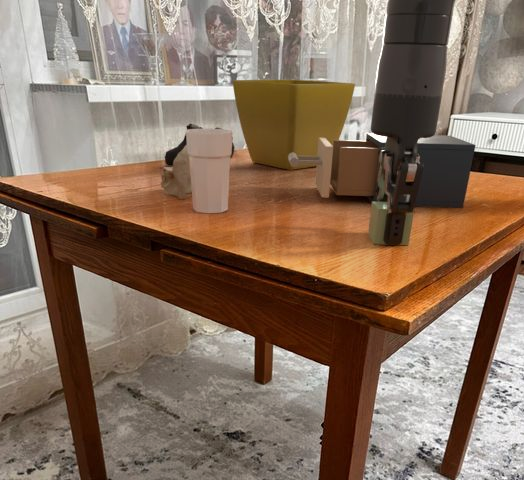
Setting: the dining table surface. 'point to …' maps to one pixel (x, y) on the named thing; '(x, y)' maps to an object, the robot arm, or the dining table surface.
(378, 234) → the block
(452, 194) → the cabinet
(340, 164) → the drawer
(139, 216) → the dining table surface
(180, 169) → the beige rough lump
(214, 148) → the cup
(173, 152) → the game controller
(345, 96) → the flower pot
